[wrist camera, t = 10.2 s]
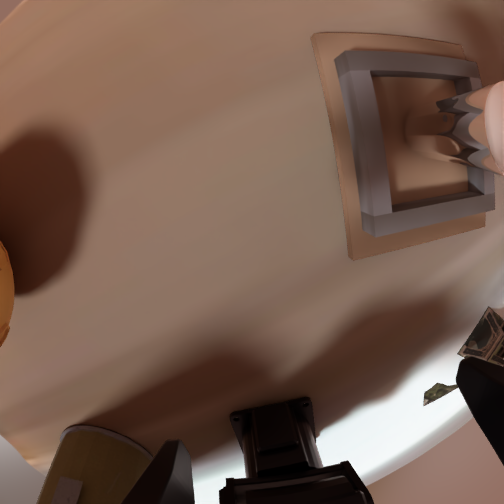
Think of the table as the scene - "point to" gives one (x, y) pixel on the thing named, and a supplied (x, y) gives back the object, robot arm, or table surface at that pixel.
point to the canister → (93, 467)
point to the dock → (396, 140)
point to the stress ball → (5, 293)
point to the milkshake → (461, 129)
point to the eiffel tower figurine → (477, 349)
